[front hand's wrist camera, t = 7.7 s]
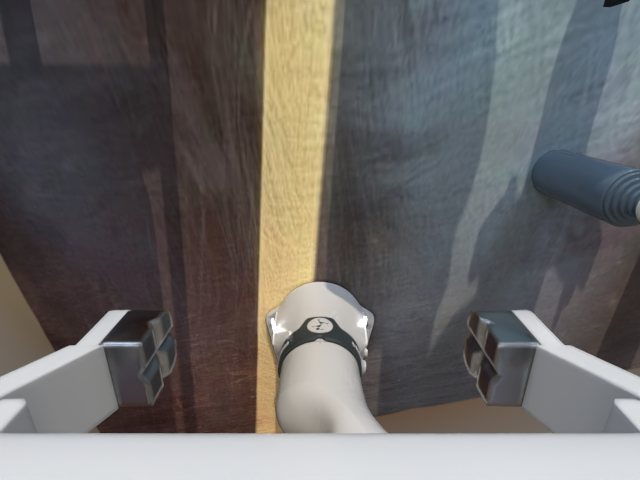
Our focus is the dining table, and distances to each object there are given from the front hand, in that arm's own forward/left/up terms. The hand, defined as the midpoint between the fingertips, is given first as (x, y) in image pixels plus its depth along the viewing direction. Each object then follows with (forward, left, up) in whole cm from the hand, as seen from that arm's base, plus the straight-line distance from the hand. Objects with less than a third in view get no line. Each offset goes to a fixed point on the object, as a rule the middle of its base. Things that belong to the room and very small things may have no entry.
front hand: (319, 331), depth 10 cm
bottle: (-5, -35, -48) cm, 60 cm away
